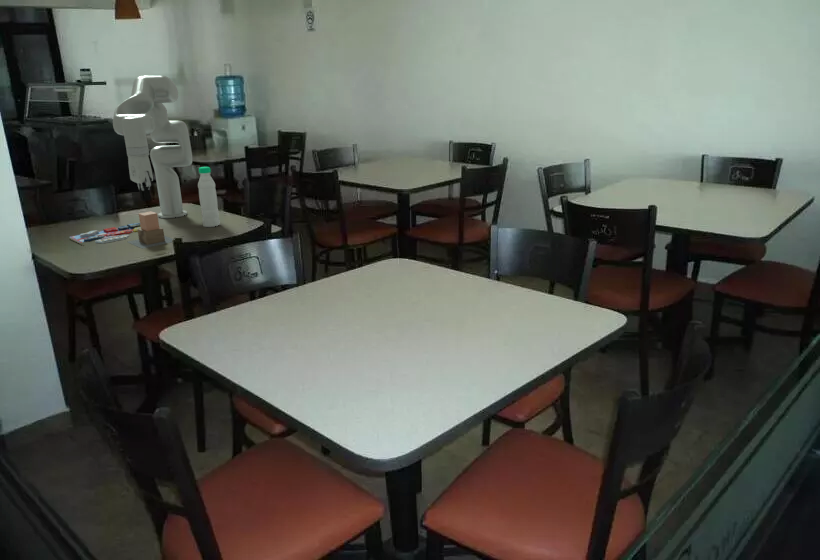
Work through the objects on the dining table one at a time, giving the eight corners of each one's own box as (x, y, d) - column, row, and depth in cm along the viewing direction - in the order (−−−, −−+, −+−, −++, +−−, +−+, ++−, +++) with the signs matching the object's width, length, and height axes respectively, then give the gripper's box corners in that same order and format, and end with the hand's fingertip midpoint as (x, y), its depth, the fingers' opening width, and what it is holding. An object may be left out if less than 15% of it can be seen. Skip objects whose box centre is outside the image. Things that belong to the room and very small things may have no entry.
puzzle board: (91, 251, 232) (89, 244, 232) (69, 240, 248) (68, 234, 247) (168, 235, 253) (167, 228, 252) (144, 226, 268) (143, 220, 267)
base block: (139, 241, 238) (137, 229, 236) (157, 237, 243) (155, 225, 241) (147, 244, 233) (145, 232, 232) (165, 241, 238) (163, 228, 236)
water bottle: (217, 227, 261) (209, 168, 253) (200, 227, 261) (192, 168, 253) (222, 223, 268) (215, 165, 260) (206, 223, 268) (198, 166, 260)
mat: (127, 244, 238) (126, 241, 238) (162, 237, 248) (161, 234, 247) (142, 251, 229) (142, 248, 229) (178, 243, 238) (177, 240, 238)
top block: (141, 228, 236) (138, 213, 234) (153, 226, 240) (151, 211, 238) (146, 231, 233) (144, 215, 231) (159, 228, 236) (157, 213, 234)
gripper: (119, 150, 229) (127, 198, 236) (136, 154, 219) (144, 205, 226) (139, 148, 234) (147, 195, 241) (156, 152, 224) (164, 201, 231)
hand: (146, 200), depth 233 cm, fingers closed
